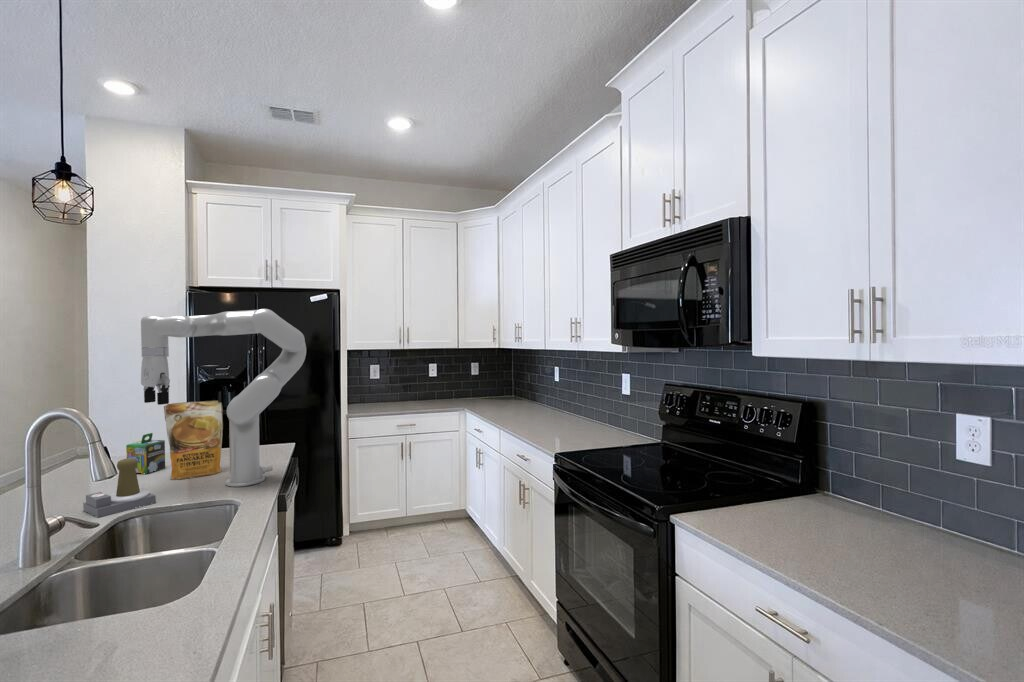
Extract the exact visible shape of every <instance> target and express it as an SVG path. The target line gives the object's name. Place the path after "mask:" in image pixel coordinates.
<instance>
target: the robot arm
mask: <svg viewBox="0 0 1024 682" xmlns="http://www.w3.org/2000/svg"><path fill="white" fill-rule="evenodd" d="M250 334H251V335H253V334H261V335H262V336H263V337H265V338H266V339H268V340H269V341H271V342H273V344H275V345H277V346H278V347H279V348H280V349H282V350H281V353H280V354H279V356H278V357H276V359H275V360H274V361H273V362H272V363H271V364H270V365H269V366H268V367H267V368H265V369H264V370H263V371H262V372H261V373H260V374H258V375H257V376H255V378H254V379H253V380H252V381H251V382H250V383H249V384H248V385H247V386H246V387H245V388H244V389H243V390H241V392H240V393H239V394H237V395H236V396H234V397H233V398H232V399H231V400H230V402H229V404H228V405H227V407H226V416H227V418H228V421H229V422H228V423H229V425H228V426H229V428H228V430H229V431H228V432H229V435H228V439H229V440H228V441H229V443H228V444H229V475H230V476H229V478H227V479H226V480H224V481H225V483H224V484H225V486H227V487H233V488H235V487H237V488H238V487H247V486H253V485H256V484H259V483H262V482H264V481H265V479H266V477H265V475H264V474H265V473H269V472H273V470H274V468H273V465H269V466H260V464H261V463H260V462H261V459H260V414H261V413H263V411H264V410H265V409H266V408H267V407H268V406H269V405H270V404H271V403H272V402H273V401H274V400H275V399H276V398H277V397H278V396H279V395H280V392H281V391H282V388H283V387H284V386H285V385H286V384H287V382H289V381H290V380H291V379H292V378H293V377H294V375H295V374H297V372H298V371H299V370H300V368H301V367H302V366H303V364H304V362H305V360H306V356H307V346H306V345H307V344H306V340H305V335H304V333H302V332H301V331H300V330H299V329H298V328H296V326H295V327H294V326H293V325H292V324H290V323H289V322H287V321H286V320H285V319H284V318H282V317H280V316H279V315H278V314H277V313H275V312H274V311H273V310H272V309H268V308H260V309H251V310H250V309H249V310H233V311H232V310H231V311H227V310H226V311H222V312H219V313H215V314H214V313H213V314H206V315H205V314H203V315H182V314H181V315H171V316H160V315H159V316H158V315H147V316H143V317H141V319H140V337H141V338H140V339H141V340H140V342H141V344H140V345H141V346H140V347H141V358H142V359H141V368H140V369H141V370H140V384H141V386H143V398H144V399H143V400H144V403H145V404H148V403H149V404H150V403H157V405H159V406H161V405H167V404H170V397H169V396H170V395H169V394H170V393H169V392H170V388H171V387H170V383H171V379H170V374H169V372H170V371H169V362H168V357H170V354H169V353H170V352H169V350H170V349H169V348H170V347H169V346H170V345H169V337H171V338H195V337H206V336H238V335H250ZM155 388H156V389H157V391H158V392H157V393H156V390H155ZM156 396H157V402H156Z"/></svg>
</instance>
